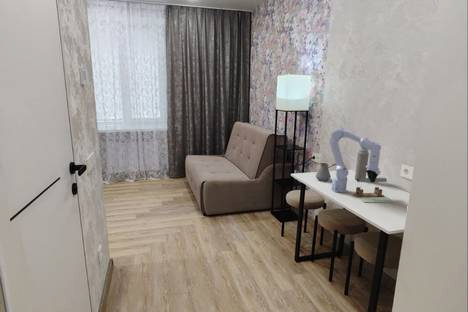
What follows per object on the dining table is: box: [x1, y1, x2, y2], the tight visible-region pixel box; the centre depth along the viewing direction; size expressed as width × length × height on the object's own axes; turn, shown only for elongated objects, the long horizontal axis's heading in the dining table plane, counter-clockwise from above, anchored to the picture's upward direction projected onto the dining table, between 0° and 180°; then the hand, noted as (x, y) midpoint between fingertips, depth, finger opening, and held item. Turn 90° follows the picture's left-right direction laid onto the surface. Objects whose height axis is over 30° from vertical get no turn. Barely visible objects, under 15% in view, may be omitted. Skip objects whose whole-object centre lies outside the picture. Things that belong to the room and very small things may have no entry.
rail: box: [356, 177, 388, 183], centre depth 196 cm, size 19×2×2 cm, turn 94°
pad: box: [358, 197, 395, 204], centre depth 191 cm, size 20×7×1 cm, turn 93°
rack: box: [352, 186, 385, 198], centre depth 199 cm, size 19×5×5 cm, turn 93°
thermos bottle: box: [354, 146, 370, 181], centre depth 230 cm, size 8×8×28 cm
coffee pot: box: [315, 161, 345, 182], centre depth 231 cm, size 21×12×15 cm, turn 97°
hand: (371, 181), depth 196 cm, fingers closed on rail, 2 cm apart
